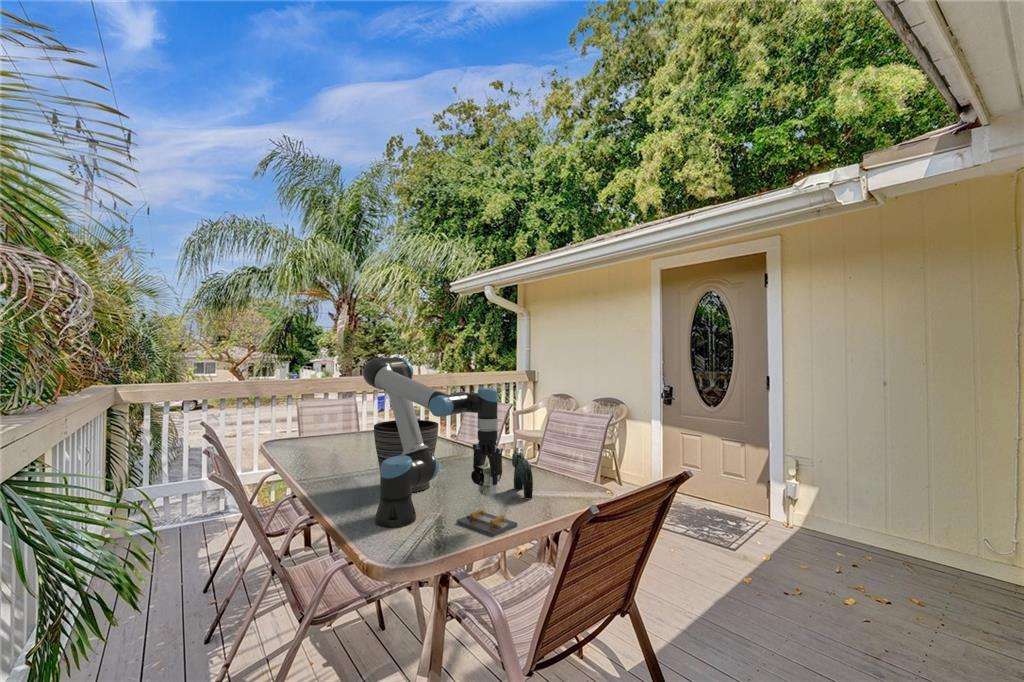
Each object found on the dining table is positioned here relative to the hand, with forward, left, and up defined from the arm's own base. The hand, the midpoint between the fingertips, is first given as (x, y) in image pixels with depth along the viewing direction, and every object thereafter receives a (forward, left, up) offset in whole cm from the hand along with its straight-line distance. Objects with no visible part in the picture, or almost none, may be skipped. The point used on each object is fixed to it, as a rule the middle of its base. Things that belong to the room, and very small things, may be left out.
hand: (487, 491), depth 173 cm
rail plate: (0, 0, -12) cm, 12 cm away
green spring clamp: (+40, +15, -12) cm, 45 cm away
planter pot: (+9, +62, -12) cm, 64 cm away
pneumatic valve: (0, 0, -1) cm, 1 cm away
